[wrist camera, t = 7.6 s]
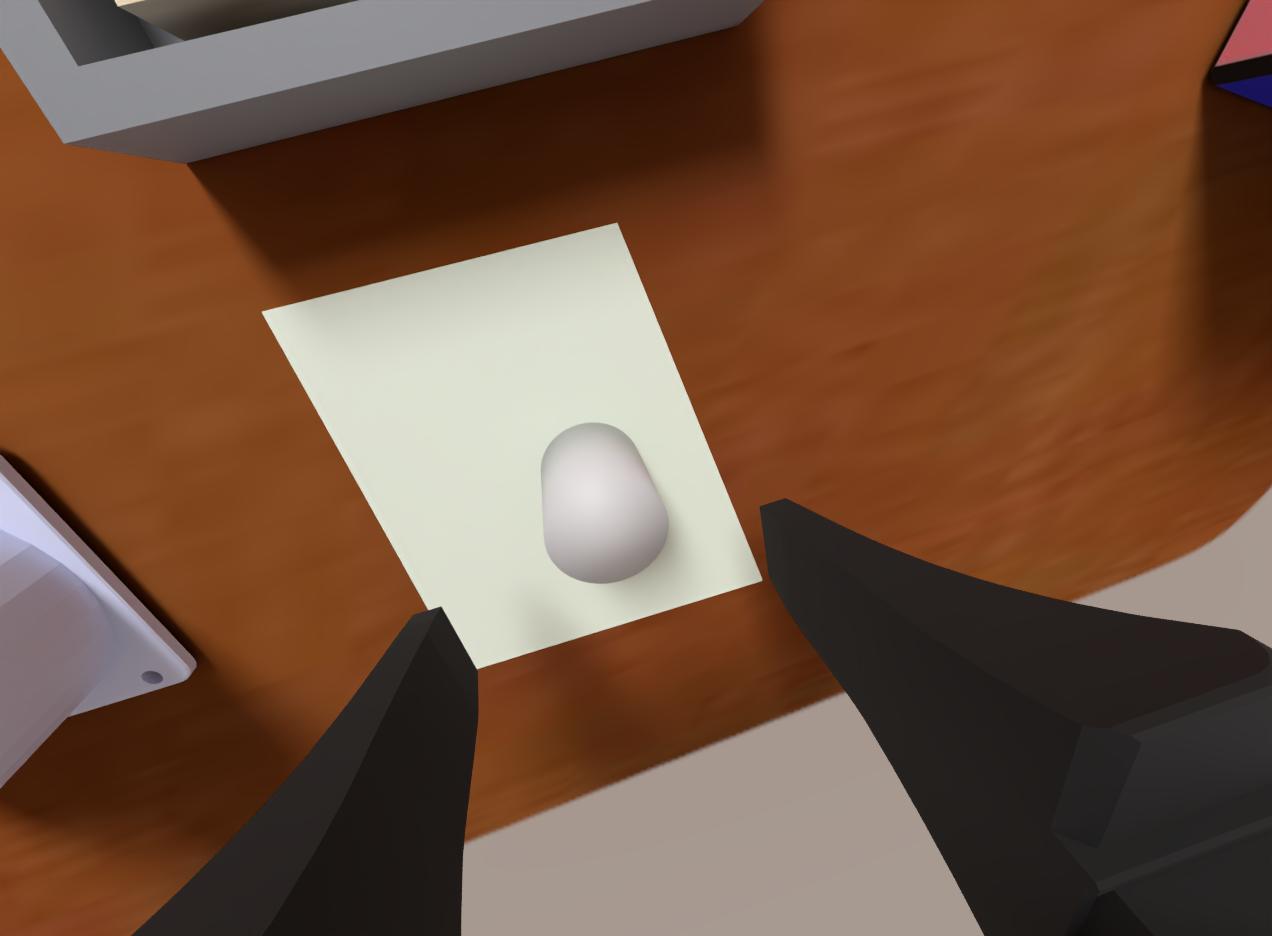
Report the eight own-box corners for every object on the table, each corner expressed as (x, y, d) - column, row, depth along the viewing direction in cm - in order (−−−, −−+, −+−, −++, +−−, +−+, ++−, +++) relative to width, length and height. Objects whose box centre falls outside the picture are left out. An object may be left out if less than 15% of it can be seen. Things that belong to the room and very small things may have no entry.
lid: (465, 660, 18) (449, 769, 14) (273, 308, 12) (165, 344, 9) (792, 559, 19) (854, 638, 15) (760, 185, 13) (849, 171, 9)
